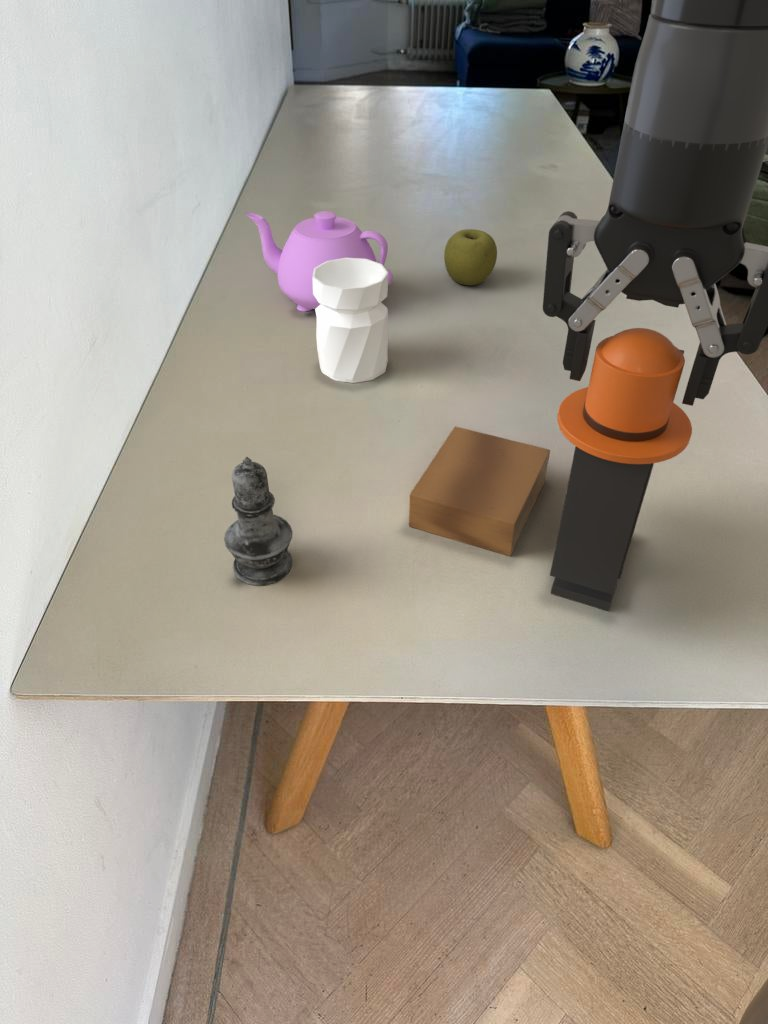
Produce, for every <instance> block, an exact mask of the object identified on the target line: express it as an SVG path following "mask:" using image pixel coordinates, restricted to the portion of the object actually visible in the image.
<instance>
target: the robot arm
mask: <svg viewBox="0 0 768 1024" xmlns="http://www.w3.org/2000/svg"><path fill="white" fill-rule="evenodd" d="M647 19H648V20H647V23H646V28H645V30H644V34H643V38H642V41H641V45H640V47H639V50H638V53H637V57H636V61H635V63H634V69H633V73H632V78H631V84H630V89H629V94H628V99H627V105H626V111H625V116H624V122H623V127H622V131H621V136H620V141H619V146H618V147H619V148H618V153H617V158H616V164H615V169H614V174H613V178H612V179H613V180H612V184H611V190H610V195H609V200H608V206H607V209H606V210H605V211H606V212H605V213H604V215H603V216H602V217H601V219H600V220H596V219H583V218H578V216H577V215H576V213H574V212H573V211H567V210H566V211H564V212H562V213H561V214H560V215H559V217H558V218H557V219H556V221H555V222H554V223H553V225H552V226H551V227H550V228H549V231H548V236H547V237H548V238H547V248H546V249H547V251H546V262H545V273H544V285H543V299H542V311H543V313H544V315H546V316H547V317H550V318H558V319H560V320H561V321H563V322H564V323H565V324H566V326H567V335H566V341H565V347H564V353H563V357H562V366H563V370H564V371H568V372H569V373H570V374H569V380H571V381H576V382H581V380H582V378H583V376H584V374H585V372H586V369H587V366H588V363H589V362H588V361H589V357H590V350H591V345H592V340H593V336H594V329H595V326H596V325H595V324H596V321H597V320H596V318H597V316H598V315H600V313H601V312H603V311H604V310H606V308H608V306H609V305H610V304H612V302H613V301H614V300H615V299H616V298H617V297H618V296H619V295H620V293H622V294H623V295H626V296H625V299H626V300H631V301H638V302H640V301H654V302H656V303H659V304H661V305H663V306H666V307H672V308H677V309H678V308H679V306H680V305H685V308H686V311H687V314H688V317H689V321H690V323H691V326H692V327H693V328H694V329H695V331H696V334H697V337H698V341H699V344H698V348H697V350H696V354H695V357H694V360H693V364H692V368H691V371H690V374H689V377H688V381H687V384H686V388H685V391H684V395H683V397H682V402H681V404H682V405H687V406H692V407H693V406H694V404H695V400H696V399H699V400H704V399H705V398H706V397H707V396H708V395H709V394H710V390H711V387H712V384H713V381H714V378H715V376H716V372H717V369H718V366H719V362H720V360H721V359H722V358H723V357H724V356H725V355H726V354H729V353H737V352H739V353H741V354H742V355H751V354H754V353H756V352H757V350H759V347H760V345H761V344H762V343H761V342H762V340H763V338H764V336H765V333H766V331H767V329H768V246H766V245H763V244H757V243H753V242H747V238H746V236H745V228H744V227H745V226H744V225H745V221H746V217H747V215H748V212H749V208H750V204H751V201H752V198H753V195H754V193H755V189H756V185H757V182H758V179H759V175H760V172H761V169H762V166H763V162H764V159H765V156H766V153H767V149H768V0H651V6H650V14H649V15H648V18H647ZM589 242H594V245H595V247H596V249H597V251H598V253H599V255H600V257H601V259H602V260H603V263H604V265H605V267H606V270H605V271H604V272H603V273H602V274H601V276H600V277H599V278H598V280H597V281H596V282H595V283H594V285H593V286H592V287H591V288H590V289H589V290H588V291H587V292H586V293H585V294H584V295H583V297H582V298H581V297H579V296H577V295H575V294H574V293H572V292H571V288H572V281H573V280H572V279H573V270H574V261H575V258H577V257H579V256H580V255H581V254H582V253H583V251H584V249H586V245H587V243H589ZM740 264H741V265H743V266H744V267H745V268H746V269H747V278H746V280H747V283H748V284H749V286H751V287H753V288H755V289H754V292H753V294H752V297H751V299H750V302H749V303H748V306H747V309H746V312H745V314H744V317H743V319H742V322H740V323H739V322H738V323H731V324H727V322H726V319H725V316H724V313H723V310H722V306H721V298H720V295H719V290H718V287H717V285H716V283H718V282H719V281H721V280H722V279H723V278H724V277H725V276H727V275H728V274H730V273H731V271H733V270H734V269H735V268H737V267H738V266H739V265H740ZM738 1024H768V978H767V979H766V980H765V981H764V982H763V984H762V985H761V987H760V988H759V990H758V991H757V992H756V994H754V996H753V997H752V999H751V1001H750V1002H749V1003H748V1005H747V1007H746V1008H745V1010H744V1012H743V1014H742V1016H741V1018H740V1020H739V1023H738Z"/></svg>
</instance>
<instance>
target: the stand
mask: <svg viewBox="0 0 768 1024" xmlns="http://www.w3.org/2000/svg"><path fill="white" fill-rule="evenodd" d="M550 454H551V449H549V448H545V447H541V446H537V445H533V444H529V443H525V442H521V441H516V440H512V439H508V438H504V437H500V436H497V435H492V434H488V433H483V432H481V431H480V432H479V431H475V430H472V429H468V428H463V427H459V426H454V427H453V428H452V430H451V432H450V433H449V435H448V436H447V437H446V439H445V441H444V442H443V443H442V444H441V447H440V448H439V450H438V451H437V453H435V455H434V457H433V458H432V460H431V461H430V462H429V464H428V466H427V468H426V469H425V470H424V472H423V473H422V474H421V477H420V478H419V480H418V481H417V482H416V484H415V485H414V487H413V489H412V490H411V492H410V493H409V511H408V514H409V515H408V527H409V528H413V529H416V530H419V531H423V532H426V533H429V534H433V535H437V536H440V537H443V538H447V539H450V540H453V541H457V542H460V543H464V544H466V545H471V546H474V547H477V548H481V549H483V550H487V551H491V552H494V553H498V554H501V555H504V556H508V557H511V555H512V553H513V552H514V549H515V547H516V545H517V543H518V540H519V538H520V536H521V534H522V532H523V530H524V527H525V526H526V524H527V521H528V519H529V516H530V514H531V512H532V510H533V508H534V506H535V504H536V501H537V500H538V497H539V495H540V494H541V491H542V488H543V486H544V485H545V482H546V478H547V472H548V466H549V460H550Z"/></svg>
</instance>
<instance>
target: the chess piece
mask: <svg viewBox="0 0 768 1024" xmlns="http://www.w3.org/2000/svg"><path fill="white" fill-rule="evenodd" d="M231 480H232V481H231V482H232V486H233V490H234V491H233V492H234V496H233V498H232V500H231V507H232V509H233V510H234V511H235V512H236V516H237V519H236V520H235V521H233V522H232V523H231V524H230V526H228V527H227V529H226V531H225V533H224V538H223V541H224V546H225V547H226V549H227V550H228V552H229V553H230V554H231V555H232V556H233V558H234V560H233V563H232V569H233V574H234V575H235V577H236V578H237V579H238V581H240V582H242V583H244V584H247V585H250V586H254V587H255V586H256V587H259V586H260V587H262V586H268V585H272V584H275V583H277V582H280V581H281V580H283V579H284V578H285V577H286V576H287V575H288V574H289V573H290V571H291V570H292V567H293V559H292V555H291V553H290V552H289V551H288V549H289V547H290V543H291V542H292V539H293V529H292V526H291V525H290V523H289V522H288V521H287V520H286V519H284V518H283V517H281V516H279V515H277V514H274V509H273V508H274V507H275V504H276V498H275V495H274V494H273V493H272V492H271V491H270V487H269V480H268V472H267V471H266V468H265V467H264V466H263V464H261V463H259V462H256V461H252V459H251V458H250V457H248V456H245V458H244V459H243V460H242V462H241V463H239V464H237V465H236V466H235V467H234V469H232V474H231Z"/></svg>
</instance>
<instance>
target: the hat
mask: <svg viewBox="0 0 768 1024" xmlns="http://www.w3.org/2000/svg"><path fill="white" fill-rule="evenodd" d="M680 350H681V349H679V348H678V347H677V346H676V345H674V344H673V342H672V341H671V340H670V339H669V338H668V337H667V336H665V335H664V334H662V333H661V332H659V331H657V330H654V329H650V328H645V327H632V328H628V329H623V330H622V331H619V332H617V333H615V334H614V335H611V336H608V337H606V338H603V339H602V340H601V341H600V342H598V344H597V345H596V348H595V352H594V357H593V362H592V366H591V372H590V377H589V383H588V386H587V387H583V388H580V389H578V390H575V391H573V392H571V393H570V394H568V395H567V396H566V397H564V399H563V400H562V401H561V403H560V405H559V407H558V409H557V410H558V411H557V418H556V421H557V425H558V428H559V430H560V432H561V433H562V436H563V437H565V438H566V440H568V441H569V442H570V443H571V444H572V445H573V446H575V447H578V448H579V449H581V450H583V451H585V452H587V453H589V454H591V455H593V456H596V457H599V458H602V459H605V460H609V461H613V462H618V463H626V464H651V463H654V464H657V463H661V462H666V461H669V460H671V459H674V458H675V457H677V456H678V455H680V454H682V453H683V452H684V450H685V449H686V448H688V447H687V446H689V444H690V441H691V438H692V435H693V426H692V422H691V420H690V418H689V416H688V414H687V413H686V412H685V411H684V410H683V409H682V408H681V407H680V406H679V405H677V404H676V403H675V397H676V394H677V391H678V388H679V385H680V381H681V378H682V374H683V370H684V367H685V363H686V359H685V355H684V354H682V352H681V351H680Z"/></svg>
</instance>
